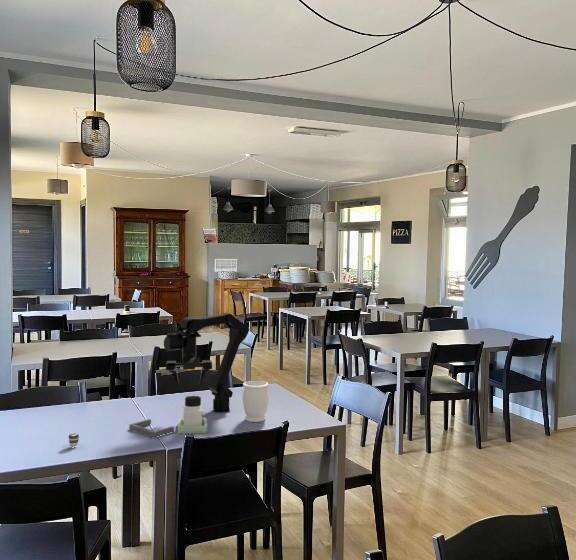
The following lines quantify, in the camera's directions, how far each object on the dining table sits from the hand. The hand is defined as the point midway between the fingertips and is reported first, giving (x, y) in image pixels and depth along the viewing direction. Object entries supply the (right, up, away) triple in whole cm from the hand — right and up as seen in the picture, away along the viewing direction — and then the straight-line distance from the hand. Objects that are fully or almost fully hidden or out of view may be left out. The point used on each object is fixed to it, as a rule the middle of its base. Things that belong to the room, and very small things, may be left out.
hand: (189, 385), depth 235 cm
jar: (+28, -14, -2) cm, 31 cm away
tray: (+4, -14, -15) cm, 21 cm away
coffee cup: (-34, -15, -37) cm, 52 cm away
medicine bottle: (+4, -14, -15) cm, 20 cm away
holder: (-11, -14, -18) cm, 25 cm away
